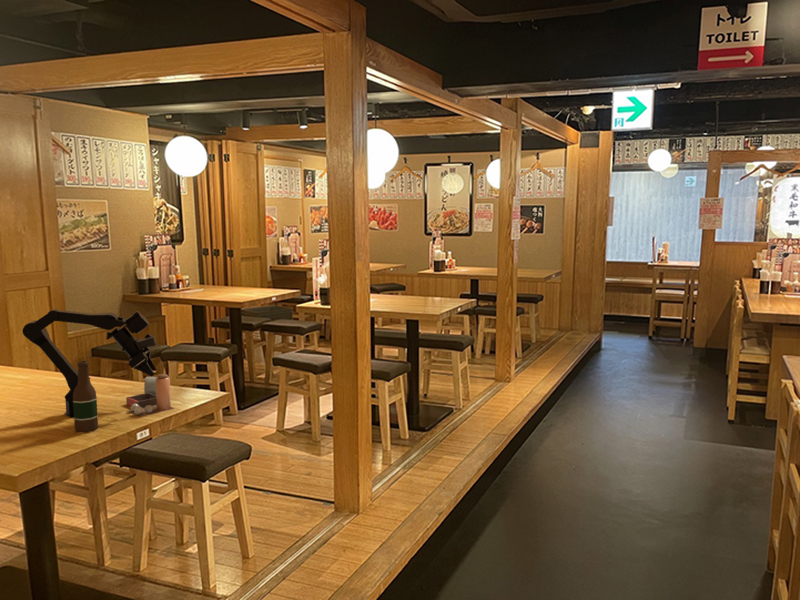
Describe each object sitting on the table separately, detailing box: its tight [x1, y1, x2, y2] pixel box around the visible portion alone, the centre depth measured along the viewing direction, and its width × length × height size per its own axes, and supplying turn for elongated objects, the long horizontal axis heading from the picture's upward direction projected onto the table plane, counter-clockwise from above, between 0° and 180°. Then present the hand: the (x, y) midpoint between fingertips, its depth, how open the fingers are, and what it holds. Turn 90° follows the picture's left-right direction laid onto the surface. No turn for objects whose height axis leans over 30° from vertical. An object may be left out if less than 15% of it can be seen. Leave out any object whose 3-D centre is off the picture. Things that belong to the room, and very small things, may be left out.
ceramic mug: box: [143, 376, 157, 395], centre depth 263 cm, size 11×8×8 cm
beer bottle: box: [73, 360, 99, 433], centre depth 216 cm, size 8×8×24 cm
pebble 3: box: [144, 405, 153, 413], centre depth 234 cm, size 3×3×3 cm
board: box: [126, 405, 176, 418], centre depth 238 cm, size 14×10×1 cm
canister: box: [156, 373, 172, 412], centre depth 239 cm, size 5×5×13 cm
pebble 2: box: [134, 406, 143, 416], centre depth 232 cm, size 3×3×3 cm
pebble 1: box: [130, 404, 139, 411], centre depth 235 cm, size 3×3×3 cm
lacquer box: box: [125, 393, 157, 408], centre depth 245 cm, size 9×9×4 cm
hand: (154, 372), depth 240 cm, fingers open, 9 cm apart
